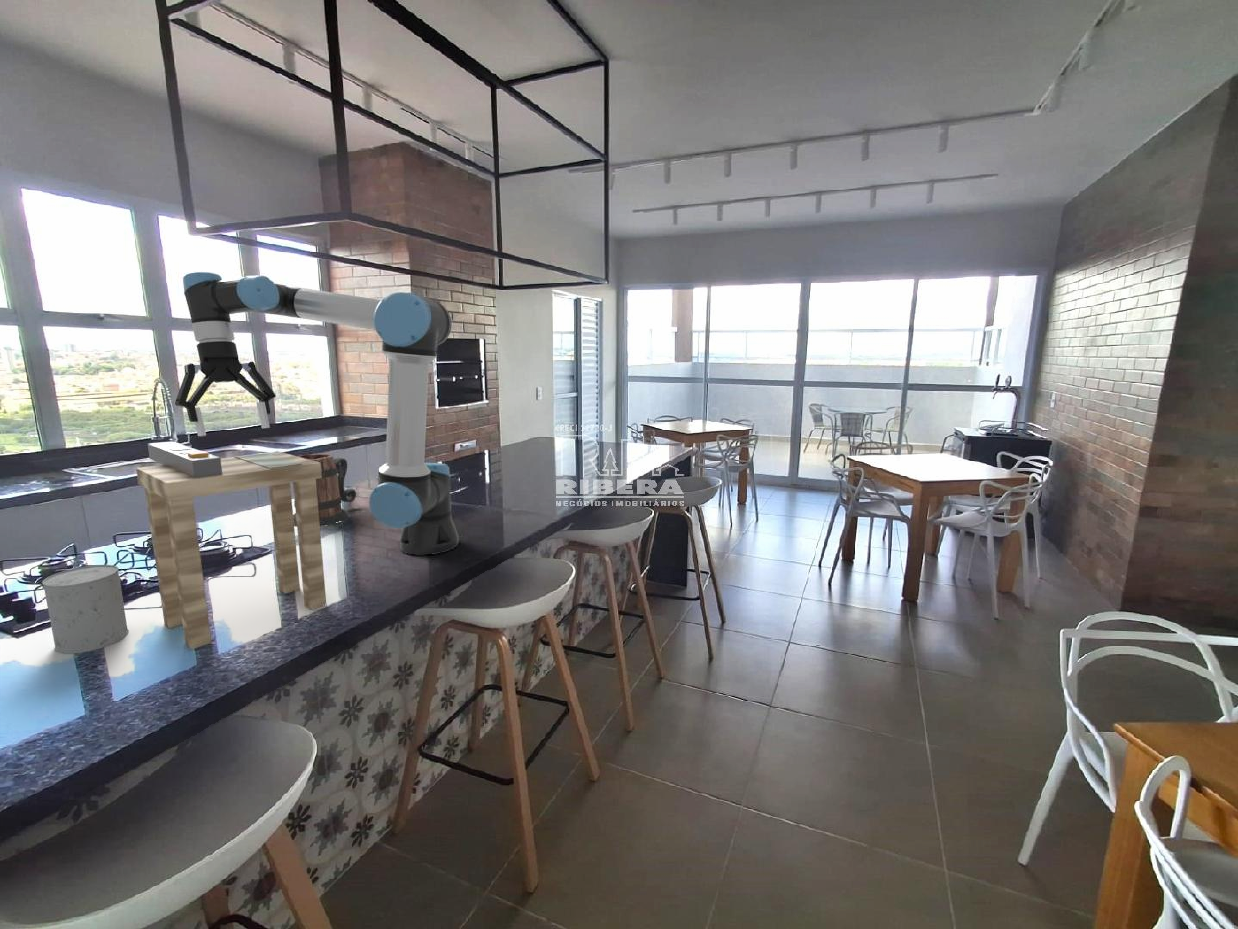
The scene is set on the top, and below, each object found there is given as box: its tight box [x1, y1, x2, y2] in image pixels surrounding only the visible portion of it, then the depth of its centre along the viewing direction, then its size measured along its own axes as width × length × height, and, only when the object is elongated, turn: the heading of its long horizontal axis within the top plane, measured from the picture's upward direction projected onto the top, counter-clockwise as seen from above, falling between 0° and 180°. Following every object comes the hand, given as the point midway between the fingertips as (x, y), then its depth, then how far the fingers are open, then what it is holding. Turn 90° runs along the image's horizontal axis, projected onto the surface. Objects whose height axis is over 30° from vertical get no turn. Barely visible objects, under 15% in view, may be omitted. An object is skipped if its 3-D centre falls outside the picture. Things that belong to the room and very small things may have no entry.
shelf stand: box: [135, 451, 327, 650], centre depth 106 cm, size 18×24×30 cm
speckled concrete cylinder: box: [41, 564, 129, 655], centre depth 97 cm, size 10×10×12 cm
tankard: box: [293, 453, 357, 528], centre depth 173 cm, size 24×17×20 cm
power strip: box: [147, 441, 222, 478], centre depth 101 cm, size 26×4×4 cm, turn 53°
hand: (235, 432), depth 132 cm, fingers open, 13 cm apart
